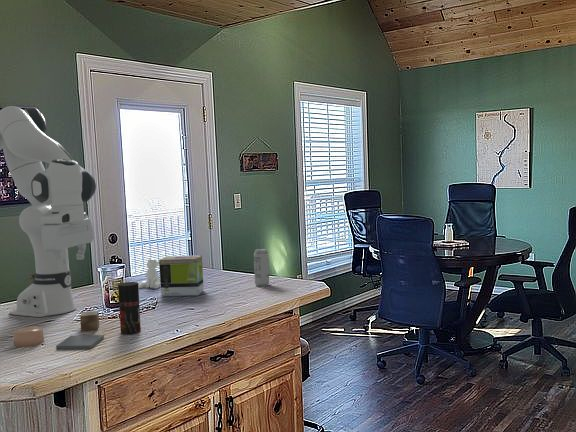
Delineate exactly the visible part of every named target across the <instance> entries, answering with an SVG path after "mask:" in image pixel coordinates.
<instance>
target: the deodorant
mask: <svg viewBox="0 0 576 432" xmlns="http://www.w3.org/2000/svg"><path fill="white" fill-rule="evenodd" d="M138 284H139V282H136V281H125V282H121V283H118V284H117V287H118V288H117V289H118V304H119V305H118V306H119V323H120V334H121V335H125V336H128V335H129V336H131V335H135V334H139V333H141V330H142V329H141V328H142V327H141V311H140V310H141V309H140V308H141V307H140V294H139V293H140V291H139V289H140V288H138Z"/></svg>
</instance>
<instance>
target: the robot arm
mask: <svg viewBox="0 0 576 432" xmlns="http://www.w3.org/2000/svg"><path fill="white" fill-rule="evenodd" d="M46 131H47V122H46V119H45V117H44V115H43V113H42V112H40V110H39V109H37V108H36V107H26V108H24V109H22V108H21V107H19V106H15V105H9V106H8V105H7V106H5V107H3V108H1V109H0V150H2V151H3V156H4V159H5V163H6V166H7V169H8V171H9V174H10V176H11V178H12V180H13V182H14V185H15V186H16V189H17V191H18V193H19V194H20V196H22V197H23V198H25V199H27V201H28V202H29V203H30V204H31V205H30V206H28V207H26V208H24V209H22V211H21V213H20V214H19V218H18V221H19V227H20V229H21V230H22V231H23V232H24V233H25V234H26V235H27V236H28V239H29V241H30V243H31V246H32V250H33V254H34V255H33V256H34V263H35V264H34V265H35V273H33V274H31V275H28V276H29V280H32V281H31V283H30V285H29V286H27V287H26V288H25V289H23V291H22V292H20V293H19V294H18V295H17V299H16V307H14V308H12V309H10V311H9V315H16V316H24V317H35V318H42V317H47V316H54V315H55V316H56V315H61V314H67V313H69V312H72V311H74V310H76V309H77V306H76V303H75V299H74V296H73V291H72V273H71V269H70V265H69V264H70V261H69V250H68V249H70V248H74V247H77V249H78V250H77V253H76V254H75V257H76V260H77V261H78V260H80V261H81V260H84V259H85V253H86V249H87V244H90V243H92V242H93V241H94V238H95V237H94V235H95V234H94V230H93V224H92V221H91V219H90V216H89V215H88V214H87V213H86V212H84V211H85V209H84V203H88V201H90V199H91V198H92V197H93V196H94V194H95V193H96V189H97V184H96V180H95V178H94V176H93V175H92V174H91V173H90V172H89V171H88V170H87V169H85V168H83V167H82V166H81V165H80V164H79V162H77V161H76V159H74V157H73V156H72V155H71V154H70V152H68V150H66V148H64V146H63V145H62V144H60V142H58V141H56V140H54V139H52V138H51V137H49V136H48V134H47V135H46V134H45V133H46ZM43 163H46V164H49V165H48V167H47V168H45V166H44V164H43Z"/></svg>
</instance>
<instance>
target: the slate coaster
mask: <svg viewBox="0 0 576 432" xmlns="http://www.w3.org/2000/svg"><path fill="white" fill-rule="evenodd" d="M103 340H105V334H90V335H89V334H87V335H85V334H84V335H83V334H82V335H81V334H79V335H78V334H77V335H76V334H75V335H74V334H73V335H69V336H68V337H67V338H65V339H64V340H62V341H60V343H58V344H57V345H56V346H55V349H56V350H92V349H93V348H95V347H96V345H98V344H99V343H100V342H101V341H103Z"/></svg>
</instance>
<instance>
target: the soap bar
mask: <svg viewBox="0 0 576 432" xmlns="http://www.w3.org/2000/svg"><path fill="white" fill-rule="evenodd" d="M12 334H13V346H14V347H16V348H30V347H36V346H39V345H41V344H43V343H44V342H45V336H44V335H45V333H44V327H42V326H36V325H35V326H24V327H20V328H17V329H15V330H14V331H13V332H12Z"/></svg>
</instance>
